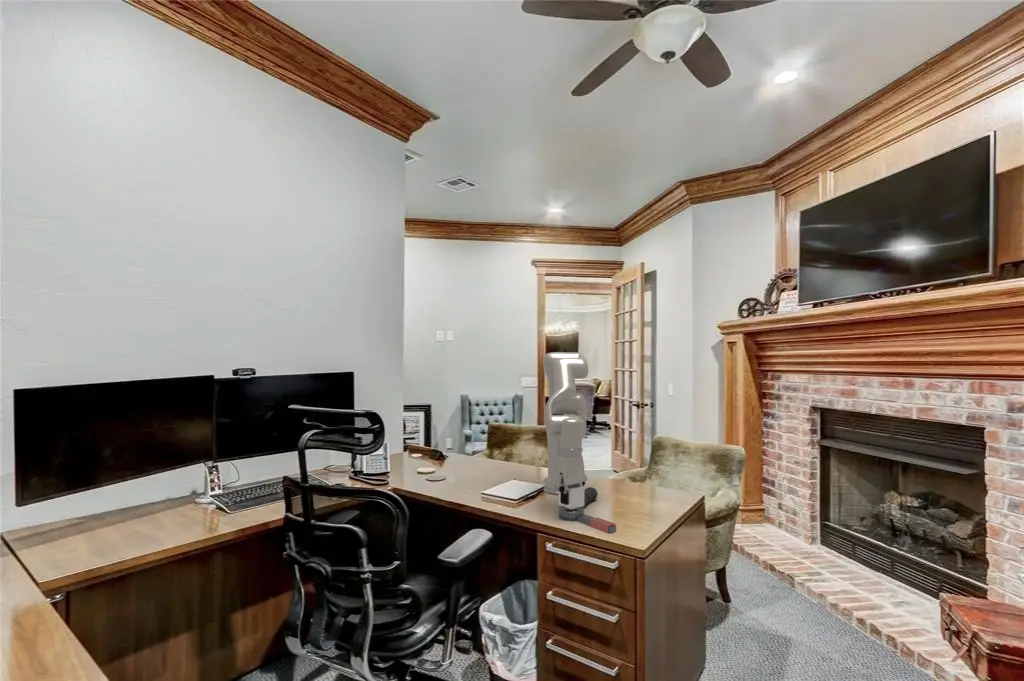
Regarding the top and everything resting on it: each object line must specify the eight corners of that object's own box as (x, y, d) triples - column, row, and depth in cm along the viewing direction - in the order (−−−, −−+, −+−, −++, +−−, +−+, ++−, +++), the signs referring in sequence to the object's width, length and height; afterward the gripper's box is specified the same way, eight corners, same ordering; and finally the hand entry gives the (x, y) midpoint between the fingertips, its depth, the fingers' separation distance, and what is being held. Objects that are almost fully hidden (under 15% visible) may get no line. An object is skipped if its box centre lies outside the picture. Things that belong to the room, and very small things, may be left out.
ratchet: (621, 529, 163) (621, 508, 163) (603, 535, 157) (603, 513, 157) (571, 511, 182) (571, 492, 182) (553, 516, 176) (553, 496, 176)
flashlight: (586, 498, 200) (586, 485, 200) (598, 500, 197) (598, 487, 197) (570, 507, 187) (570, 493, 187) (583, 510, 184) (583, 495, 184)
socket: (558, 504, 176) (558, 485, 176) (571, 501, 180) (571, 482, 180) (571, 509, 171) (571, 489, 171) (584, 505, 175) (584, 486, 175)
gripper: (580, 448, 185) (580, 495, 184) (546, 453, 174) (546, 503, 173) (595, 451, 179) (595, 500, 178) (561, 457, 168) (561, 509, 167)
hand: (571, 501), depth 176 cm, fingers closed on socket, 6 cm apart
